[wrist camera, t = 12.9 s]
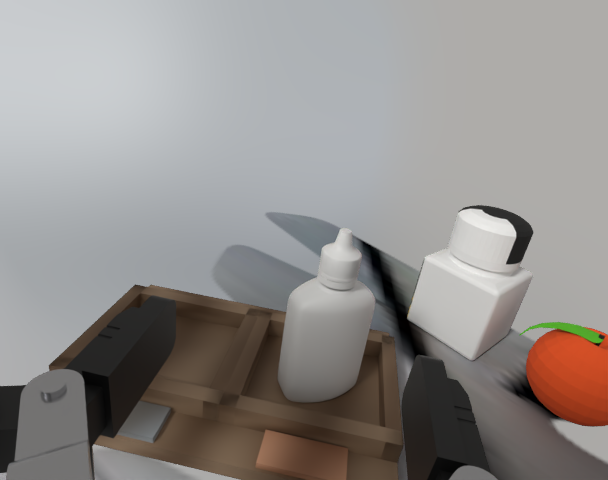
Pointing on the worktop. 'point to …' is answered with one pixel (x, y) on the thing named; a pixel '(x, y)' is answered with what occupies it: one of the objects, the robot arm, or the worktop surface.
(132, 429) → the wooden compartment tray
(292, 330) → the eye dropper bottle
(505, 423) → the worktop surface
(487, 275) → the medicine bottle
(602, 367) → the clementine
